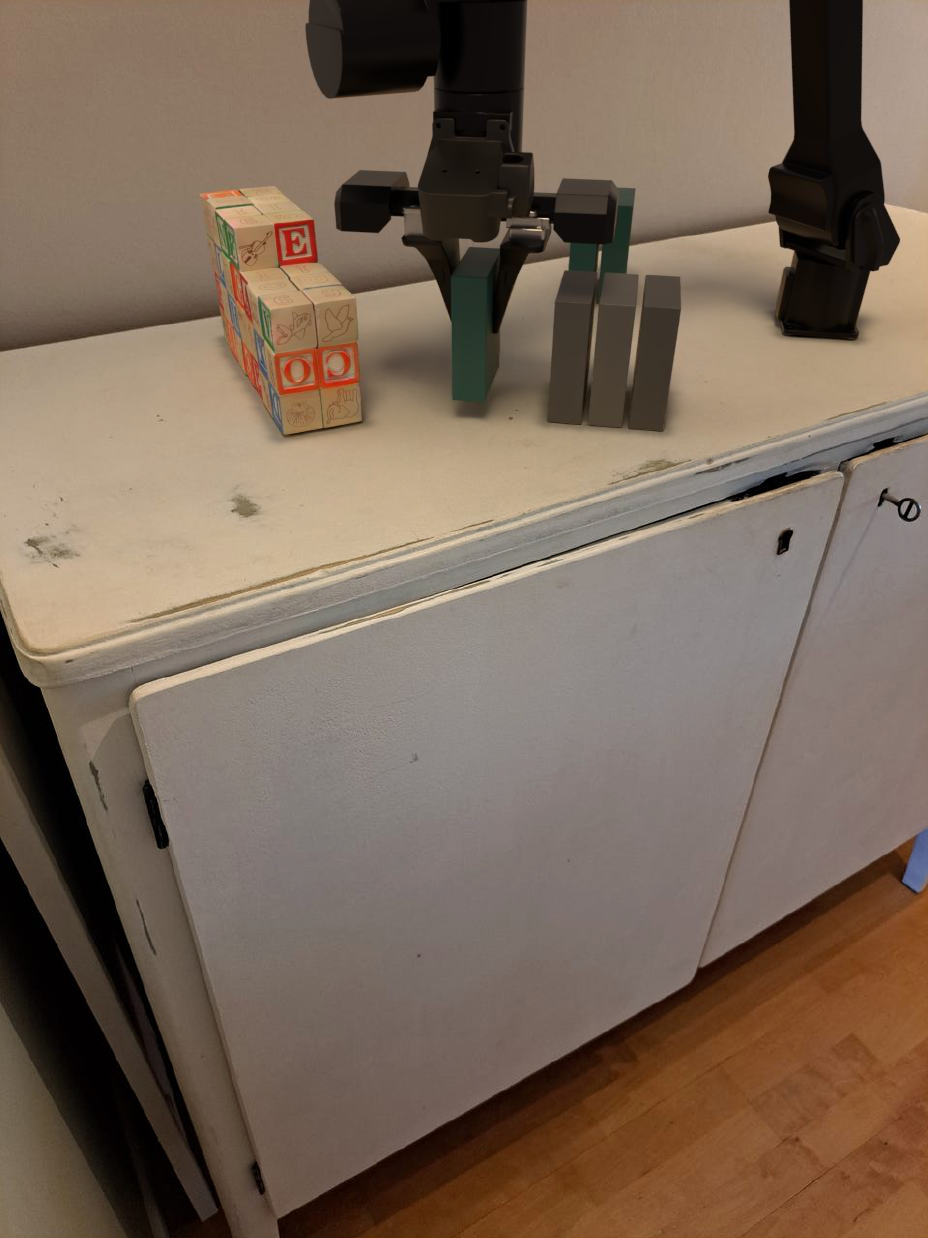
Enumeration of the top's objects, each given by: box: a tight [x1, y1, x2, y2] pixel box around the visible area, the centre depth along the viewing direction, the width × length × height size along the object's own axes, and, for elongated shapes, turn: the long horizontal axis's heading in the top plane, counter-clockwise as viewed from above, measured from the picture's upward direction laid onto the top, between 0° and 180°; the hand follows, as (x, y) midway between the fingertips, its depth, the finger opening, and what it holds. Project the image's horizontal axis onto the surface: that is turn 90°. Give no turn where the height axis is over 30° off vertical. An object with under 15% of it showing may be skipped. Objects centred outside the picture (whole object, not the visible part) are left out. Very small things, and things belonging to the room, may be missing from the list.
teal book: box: [450, 246, 501, 404], centre depth 66 cm, size 2×7×9 cm, turn 170°
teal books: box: [567, 186, 636, 305], centre depth 88 cm, size 6×7×9 cm
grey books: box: [547, 269, 682, 432], centre depth 67 cm, size 8×7×9 cm
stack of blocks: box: [199, 185, 363, 436], centre depth 70 cm, size 21×6×12 cm, turn 23°
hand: (476, 330), depth 66 cm, fingers closed on teal book, 2 cm apart
